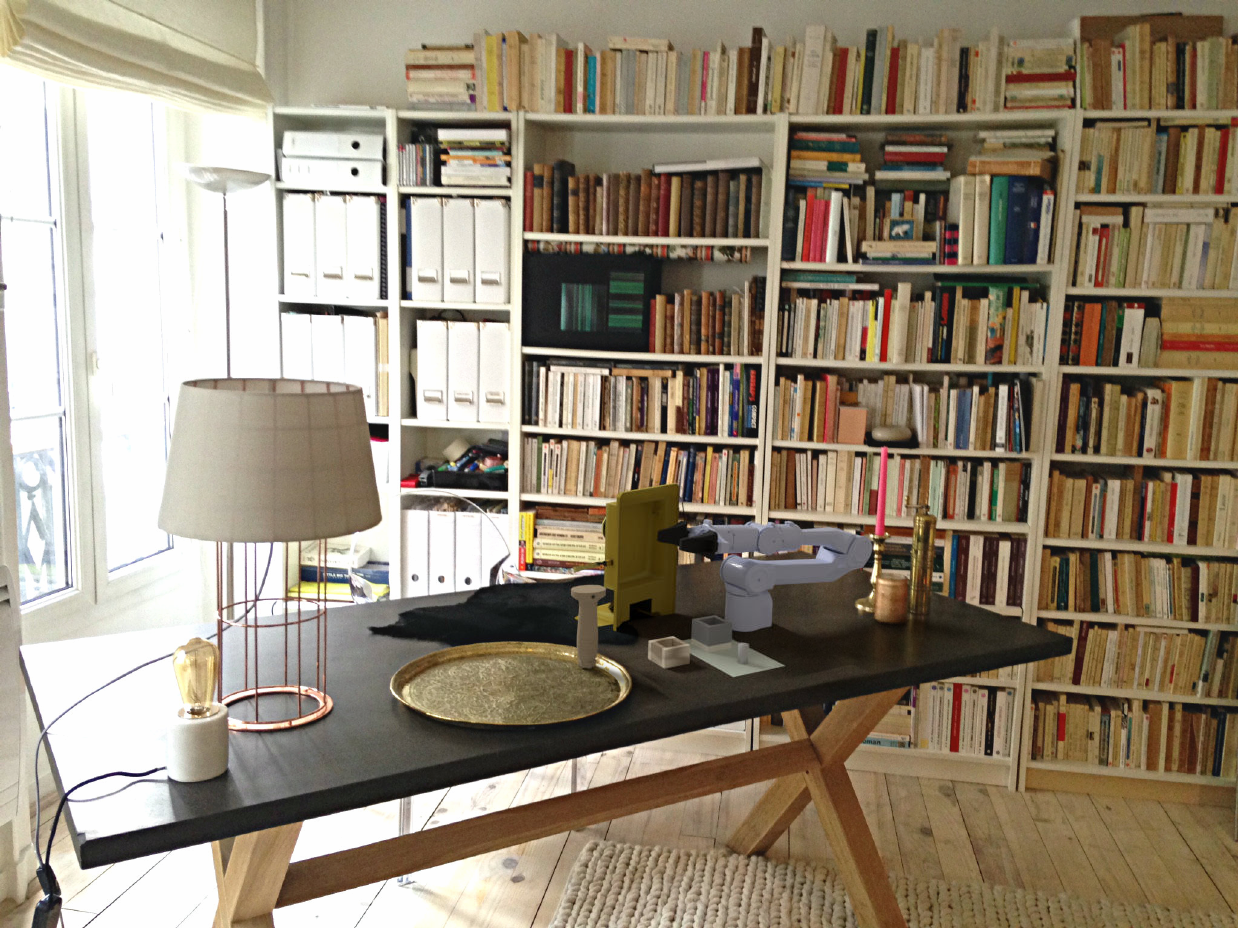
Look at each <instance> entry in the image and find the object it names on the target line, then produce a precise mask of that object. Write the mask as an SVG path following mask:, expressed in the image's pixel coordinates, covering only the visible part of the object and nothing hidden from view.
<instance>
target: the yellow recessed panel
mask: <svg viewBox="0 0 1238 928" xmlns="http://www.w3.org/2000/svg"><path fill="white" fill-rule="evenodd" d="M680 489H681V486H679V483H676V482H672V483H667V484H661V485H660V484H659V485H656V486H649V487H643V488H637V489H631V490H626V491H621V492H620V491H619V492H618V494H617V495H616V501H612V502H606V503H605V517H604V519H603V521H602V523H601V533H602V536H603V538H604V539H605V540H604V560H597V561H595V562H591V563H589V564H585V565H577V566H572V571H573V574H576V573H578V572H581V571H584V570H588V569H594V568H598V567H599V568H600V567H601V566H603V567H604V570H603V571H604V575H603V576H604V577H603V578H604V579H603V581H604V582H603V587H605V588H606V589H607V590H608V589H609V590H611V591H613V600H612V601H611V602H608V603H605V604H601V605H597V620H598V627H603V626H609V625H612V629H613V631H614V632H617V628H618V627H620V626H621V624H622V623H623V622H626V621H629V620H630V611H633V610H634V609H636V610H638V611H637V612H640V613H642V614H646V615H649V616H651V617H655V618H656V617H657V618H658V617H663V616H667V615H668V616H669V615H674V614H676V598H677V597H676V596H677V574H678V573H677V572H678V567H679V556H680V555H679V553H680V552H679V547H678V546H677V545H674V544H668V543H662V542H659V541H657V535H658V531H660V530H662V529H666V528H669V527H672V526H674V525H676V524H677V523H678V522H680V520H679V516H680V501H681V507H682V513H683V515H682V516H683V521H686V515H685V508H684V507H685V506H684V501H683V499H682V497H681V496H680V491H681V490H680ZM690 554H691V553H688V558H689V559H691V555H690ZM689 564H690V566H692V561H689ZM690 571H691V574H689V575H688V576H686V579H688V578H689V577H690V576H691V575H692V573H693V569H690ZM683 582H684V580H682V581H681V582H680V583H679V584H678V586H679V585H681V584H682V583H683ZM636 610H634V611H636ZM578 618H579V614H578V615H577V616H575V617H574V619H575V620H576V621H577V622H578Z"/></svg>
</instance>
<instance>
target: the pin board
mask: <svg viewBox="0 0 1238 928" xmlns="http://www.w3.org/2000/svg"><path fill="white" fill-rule="evenodd" d="M682 641H683V642H685V643H687V644H689V645H690V655H692V656H694V657H696V658H698V659H699V660H701V661H704V662H705V663H707V664H709V665H711V666H712V667H714V668H716V669H718V670H720V672H723V673H725V674H727V675H729V676H730V677H732V678H736V677H740V676H745V675H750V674H755V673H758V672H764V671H769V670H772V669H776V668H777V669H778V668H782V667H786V665H785V664H782V663H780V662H778V661H777V660H775V659H772V658H770V657H768V656H766V655H764V654H762V653H760V652H758V651H757V650H754V649H753V648H750V644H749V643H747V642H739V641H736V640H735V639H733V638H732V645H731V648H729V649H724V650H719V651H714V652H709V653H708V652H706V651H704V650H702V649H700V648H698V647H697V646H695V645H693V644H691V638H690V639H689V638H688V639H684V640H682Z"/></svg>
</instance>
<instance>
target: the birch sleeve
mask: <svg viewBox="0 0 1238 928" xmlns="http://www.w3.org/2000/svg"><path fill="white" fill-rule="evenodd" d="M647 649H648V650H647V659H648V660H650V661H651V662H653V663H654V664H656V665H658V666H659V667H661V668H663V669H669V668H673V667H674V668H675V667H679V666H685V665H689V664H690V659H691V657H690V656H691V653H690V645H689V644H687V643H685V642H683V640H681V639H679V638H677V637H675V636H668V637H663V638H662V637H661V638H657V639H652V640H651V639H650V640H648V647H647Z"/></svg>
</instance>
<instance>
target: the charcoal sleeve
mask: <svg viewBox="0 0 1238 928" xmlns="http://www.w3.org/2000/svg"><path fill="white" fill-rule="evenodd" d="M732 624H733V623H731V622H729V621H726V620H725V618H722V617H720V616H718V615H716V614H714V615H709V616H704V617H703V616H701V617H697V618H692V619H691V638H690V639H691V644H693V645H695V646H697V647H698V648H700V649H702V650H704V651H706V652H708V653H709V652H714V651H719V650H724V649H729V648H731V645H732V639H733V630H732Z"/></svg>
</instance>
